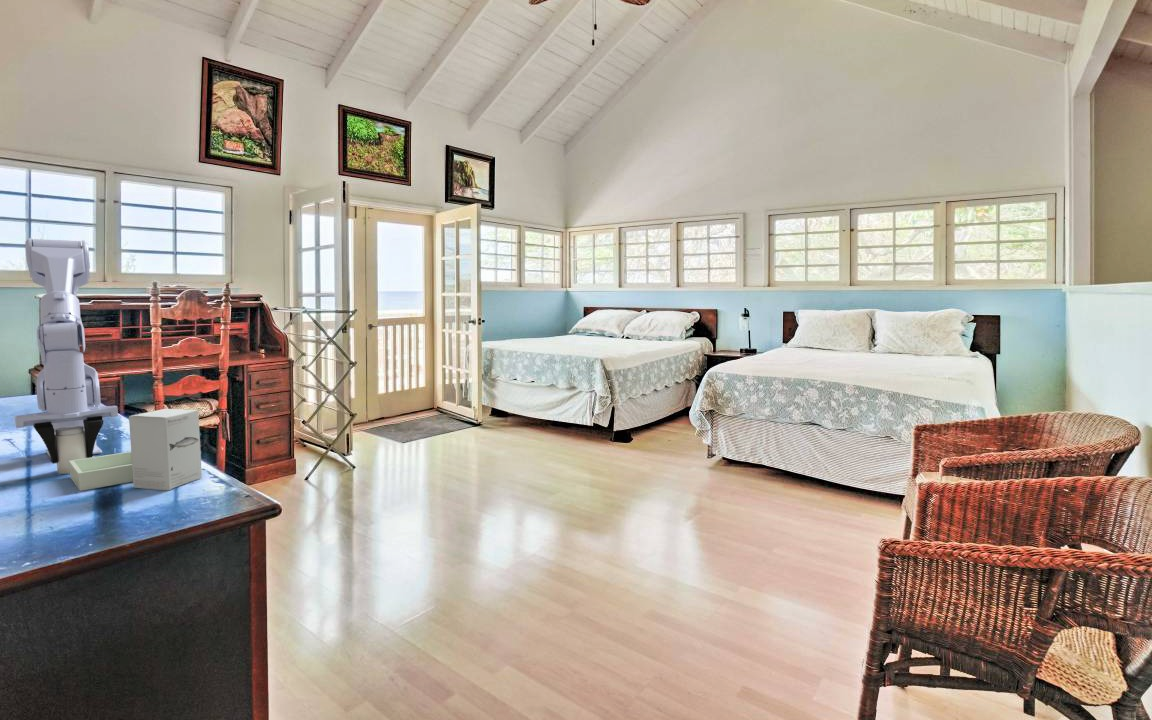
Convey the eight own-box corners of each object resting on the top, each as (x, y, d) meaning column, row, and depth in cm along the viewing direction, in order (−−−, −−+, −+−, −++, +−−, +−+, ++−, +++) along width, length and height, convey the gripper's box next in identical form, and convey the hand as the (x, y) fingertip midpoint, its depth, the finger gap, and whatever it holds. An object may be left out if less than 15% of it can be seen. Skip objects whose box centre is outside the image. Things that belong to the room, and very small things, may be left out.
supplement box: (168, 491, 102) (164, 417, 101) (132, 488, 104) (126, 415, 102) (203, 478, 109) (199, 409, 108) (168, 475, 111) (164, 407, 110)
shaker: (56, 470, 114) (52, 428, 113) (86, 465, 117) (82, 424, 116) (59, 475, 111) (55, 432, 110) (89, 470, 114) (86, 428, 113)
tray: (70, 477, 110) (68, 460, 109) (143, 464, 118) (142, 449, 117) (79, 490, 102) (78, 473, 102) (157, 477, 110) (156, 460, 110)
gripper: (14, 394, 104) (21, 472, 106) (118, 385, 115) (124, 456, 116) (11, 390, 109) (18, 464, 111) (111, 381, 119) (116, 449, 121)
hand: (72, 459), depth 114 cm, fingers closed on shaker, 4 cm apart
